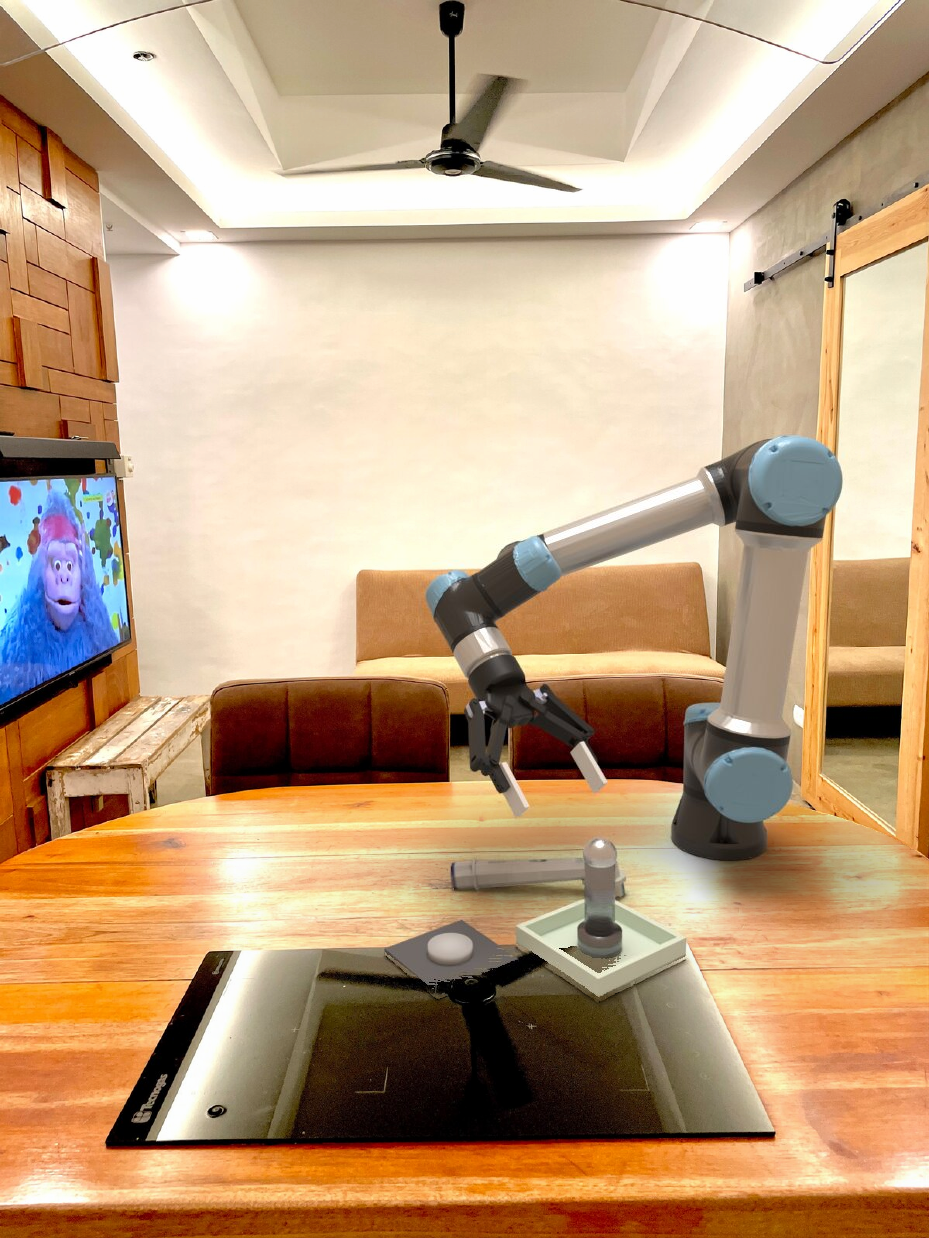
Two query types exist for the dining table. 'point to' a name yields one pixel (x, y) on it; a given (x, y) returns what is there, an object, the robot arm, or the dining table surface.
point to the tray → (641, 945)
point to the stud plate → (448, 953)
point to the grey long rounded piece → (522, 873)
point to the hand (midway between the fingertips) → (563, 799)
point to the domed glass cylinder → (599, 902)
